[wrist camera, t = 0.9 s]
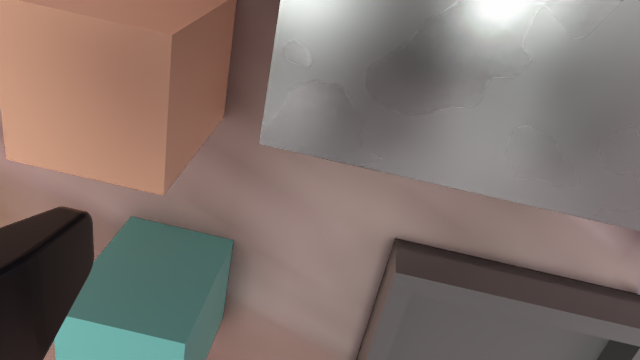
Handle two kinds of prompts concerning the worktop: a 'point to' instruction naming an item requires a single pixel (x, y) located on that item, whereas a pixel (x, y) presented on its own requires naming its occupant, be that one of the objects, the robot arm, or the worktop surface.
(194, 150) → the terracotta block
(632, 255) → the worktop surface
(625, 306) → the parts tray
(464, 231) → the worktop surface
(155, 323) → the teal block
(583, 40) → the panel
